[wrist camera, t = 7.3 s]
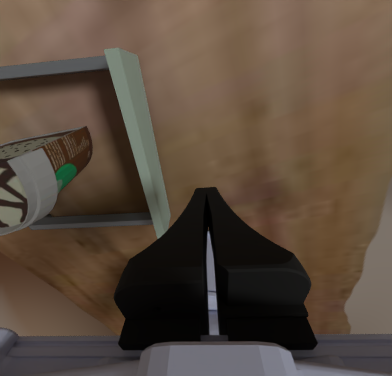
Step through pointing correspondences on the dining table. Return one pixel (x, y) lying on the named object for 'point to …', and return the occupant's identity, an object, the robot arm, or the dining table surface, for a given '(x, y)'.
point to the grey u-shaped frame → (136, 128)
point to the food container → (38, 174)
